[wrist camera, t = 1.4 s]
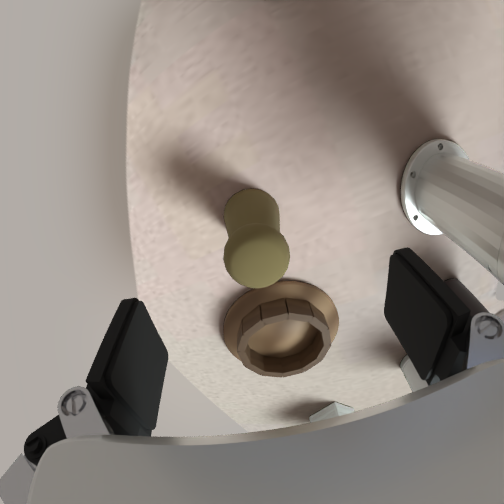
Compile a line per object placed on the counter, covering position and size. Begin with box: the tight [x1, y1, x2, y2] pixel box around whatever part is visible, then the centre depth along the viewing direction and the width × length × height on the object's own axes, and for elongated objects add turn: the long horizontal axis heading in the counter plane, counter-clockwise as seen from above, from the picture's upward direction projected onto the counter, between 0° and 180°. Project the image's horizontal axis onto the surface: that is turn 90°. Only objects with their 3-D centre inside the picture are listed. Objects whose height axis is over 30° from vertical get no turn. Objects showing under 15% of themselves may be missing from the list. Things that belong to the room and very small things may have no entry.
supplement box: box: [309, 402, 354, 423], centre depth 46 cm, size 7×7×13 cm
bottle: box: [445, 278, 489, 318], centre depth 29 cm, size 7×7×20 cm
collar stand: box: [223, 281, 339, 377], centre depth 37 cm, size 16×16×4 cm
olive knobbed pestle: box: [223, 189, 290, 288], centre depth 26 cm, size 6×6×11 cm
